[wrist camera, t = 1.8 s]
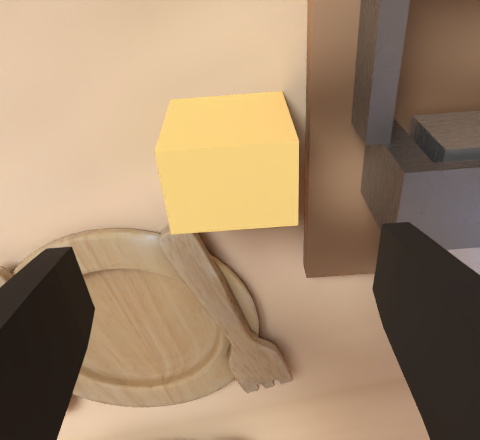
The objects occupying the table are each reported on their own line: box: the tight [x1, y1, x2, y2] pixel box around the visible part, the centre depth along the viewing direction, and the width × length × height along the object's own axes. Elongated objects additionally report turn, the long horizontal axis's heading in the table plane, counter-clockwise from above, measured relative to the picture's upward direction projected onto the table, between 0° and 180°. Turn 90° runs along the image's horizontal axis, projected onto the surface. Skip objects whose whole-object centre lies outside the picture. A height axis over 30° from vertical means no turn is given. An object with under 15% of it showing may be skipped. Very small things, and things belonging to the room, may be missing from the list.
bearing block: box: [360, 119, 480, 250], centre depth 15 cm, size 3×6×4 cm, turn 94°
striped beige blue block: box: [409, 110, 480, 275], centre depth 16 cm, size 7×3×3 cm, turn 4°
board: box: [303, 0, 480, 278], centre depth 16 cm, size 15×10×1 cm
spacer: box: [155, 91, 299, 235], centre depth 15 cm, size 3×4×4 cm
